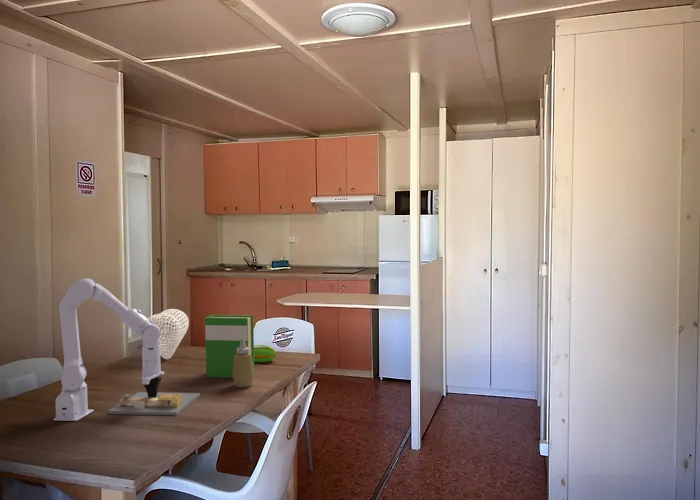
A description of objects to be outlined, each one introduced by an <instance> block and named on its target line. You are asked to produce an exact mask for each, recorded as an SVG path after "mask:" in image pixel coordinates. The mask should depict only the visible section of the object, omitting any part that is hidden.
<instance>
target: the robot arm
mask: <svg viewBox="0 0 700 500" xmlns="http://www.w3.org/2000/svg"><path fill="white" fill-rule="evenodd" d="M90 298H92V299H91V301H96V302H102V303H104V304H105V305H106V306H108V307H109V308H110V309H111V310H113V311H114V312H116V313H117V314H118V315H120V316H121V322H122V323H123V324H125V325H126V326H127V327H128V328H129V329H131V330H132V331H133V332H134V333H136V334H137V335H140V338H141V339H142V346H141V358H142V360H141V361H142V364H141V365H142V373H141V376H142V378H141V382H142V383H141V385H143V386H144V388H145V390H146V391H145V392H147V394H148V397H155V398H156V397H157V392H159V391H158V390H159V387H160V383H161V382H162V376H164V375H165V371H162V369H161V367H162V366H161V355H160V347H161V346H160V344H159V343H160V341H161V340H159V337H160V335H161V334H160V333H161V331H160V330H159V329H160V328H159V327H160V326H159V327H158V326H157V322H156V323H152V322H153V321H152V320H153V319H152V320H151V319H150V320H149V319H148V318H147V317H146V316H145V315H144V314H143V312H142V310H140V309H136V308H128V306H127V305H125V304H124V303H123V302H122V301H120V300H119V299H118V298H117V297H116V296H115V295H114V294H113V293H112V292H111V291H109V290H108V289H107V288H105V287H104V286H102V285H101V284H99V283H96V282H95V280H93V279H92V278H91V277H90V278H88V277H83V278H81V279H79V280H78V281H76V282H75V283H73V284H72V285H71V286H70V287H68V290H67V291H66V293H65V295H64V297H62V299H61V301H60V303H59V305H58V308H59V309H58V310H59V319H60V320H59V321H60V330H61V339H62V351H63V360H64V361H63V372H62V373H63V374H62V376H61V380H60V383H61V392H60V393H59V395H57V397H56V398H55V402H54V403H55V417H54V418H53V419H52V420H53V421H61V422H62V421H63V422H64V421H65V422H67V421H69V422H71V421H73V422H78V421H79V420H81V419H83V418H84V417H86V416H88V415H90V414H91V413H94V410H95V409H91V408H90V409H89V403H88V384H87V383H86V382H85V379H86V377H87V374H88V373H87V369H86V367H85V366H84V364H83V363H84V362H83V357H82V355H81V354H82V353H81V344H80V332H79V323H78V321H79V320H78V311H77V309H78V308H79V307H80V305H81V304H82V303H83V302H85V301H87V300H89V299H90ZM160 338H161V337H160Z"/></svg>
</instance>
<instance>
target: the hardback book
mask: <svg viewBox="0 0 700 500" xmlns="http://www.w3.org/2000/svg"><path fill="white" fill-rule="evenodd" d="M204 324H205V325H204V327H205V328H204V329H205V330H204V331H205V333H204V334H205V364H206V365H205V370H206V371H205V373H206V374H205V375H206V377H207V378H232V379H233V366H234V356H235V354H237V348H239V347H240V342H241V339H242V338H244V340H245V344H246V347H248V348H249V353H250V354H252V361H253V369H254V370H255V363H254V348H255V346H254V345H255V344H254V343H255V340H254V339H255V337H254V334H255V333H254V331H255V330H254V315H252V314H249V315H248V314H247V315H246V314H243V315H242V314H241V315H239V314H211V315H209V316H206V317H204Z"/></svg>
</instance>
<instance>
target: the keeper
mask: <svg viewBox="0 0 700 500" xmlns="http://www.w3.org/2000/svg"><path fill="white" fill-rule="evenodd" d="M158 400H171V403H172V408H178V407H179V406H180V405H182V394H162V395H161V396H160V397H158Z"/></svg>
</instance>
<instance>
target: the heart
mask: <svg viewBox="0 0 700 500" xmlns="http://www.w3.org/2000/svg"><path fill="white" fill-rule="evenodd" d="M147 319H148V320H150V319H151V320H152V321H153V322H152V323H156V325H157V326H158V327H159V330H160V337H159V340H160V343H159V345H160V357H162V358H163V359H164V360H170V359H171V358H172V357H173V355H174V354H175V352H176V350H177V349H178V347H179V345H180V343H181V341H182V340H183V338H184V337H185V335H186V333H187V332H188V329H189V327H190V326H189V325H190V324H189V323H190V320H189V316H188V315H187V314H186V313H185V312H184V311H182V310H180V309H177V308H169V309H166V310H162V311H161V312H160V313H155V314H153V315H151V316H149V317H148V318H147ZM167 323H168V324H167Z"/></svg>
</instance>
